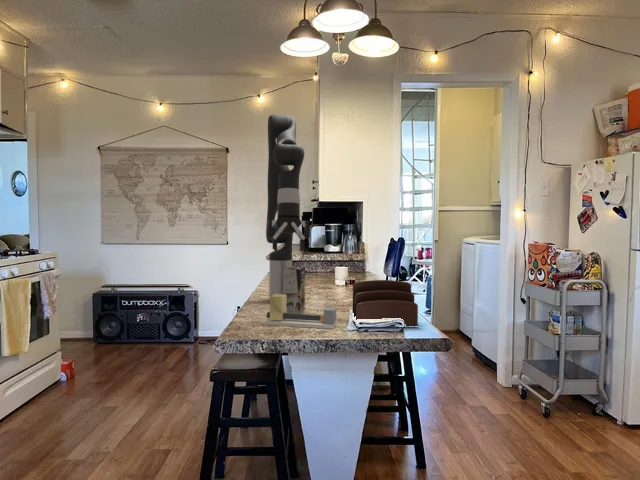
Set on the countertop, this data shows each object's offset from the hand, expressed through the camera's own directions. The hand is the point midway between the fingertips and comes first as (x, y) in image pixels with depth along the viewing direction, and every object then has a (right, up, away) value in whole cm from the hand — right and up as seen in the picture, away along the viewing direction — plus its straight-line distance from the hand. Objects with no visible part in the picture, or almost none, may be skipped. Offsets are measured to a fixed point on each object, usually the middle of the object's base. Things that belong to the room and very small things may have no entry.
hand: (288, 251), depth 151 cm
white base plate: (+4, -24, -4) cm, 24 cm away
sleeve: (-3, -22, -3) cm, 22 cm away
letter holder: (+31, -24, -3) cm, 40 cm away
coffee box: (+1, -23, +16) cm, 28 cm away
